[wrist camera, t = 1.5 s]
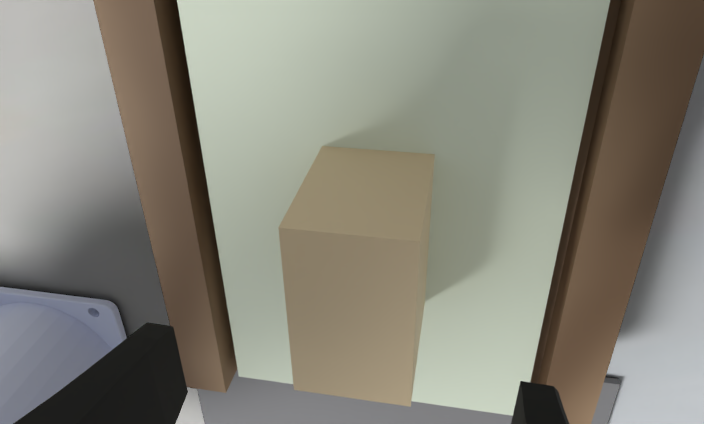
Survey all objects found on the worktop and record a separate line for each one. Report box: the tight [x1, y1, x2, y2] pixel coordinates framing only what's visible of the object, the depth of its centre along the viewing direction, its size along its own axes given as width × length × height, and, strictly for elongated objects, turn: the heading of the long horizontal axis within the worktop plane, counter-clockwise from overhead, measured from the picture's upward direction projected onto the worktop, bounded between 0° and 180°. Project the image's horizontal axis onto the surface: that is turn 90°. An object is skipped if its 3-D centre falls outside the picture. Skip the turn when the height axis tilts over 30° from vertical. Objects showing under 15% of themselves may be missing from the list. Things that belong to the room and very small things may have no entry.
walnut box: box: [93, 0, 704, 424], centre depth 18 cm, size 14×16×4 cm
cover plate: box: [177, 0, 610, 416], centre depth 16 cm, size 10×14×5 cm
